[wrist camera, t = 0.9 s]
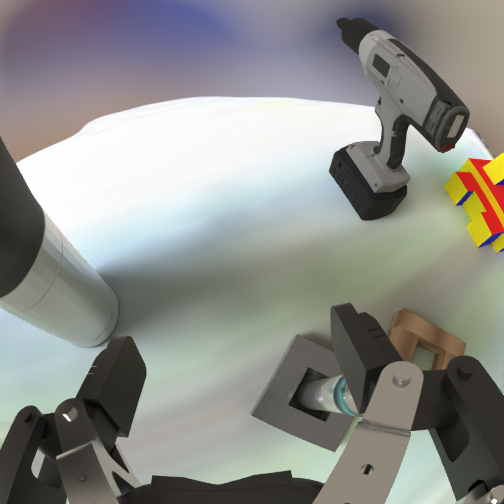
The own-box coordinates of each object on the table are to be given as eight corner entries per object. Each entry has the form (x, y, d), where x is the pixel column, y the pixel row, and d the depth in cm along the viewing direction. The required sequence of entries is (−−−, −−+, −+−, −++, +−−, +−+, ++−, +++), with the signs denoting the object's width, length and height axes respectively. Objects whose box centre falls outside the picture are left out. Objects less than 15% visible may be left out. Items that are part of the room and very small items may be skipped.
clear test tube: (290, 401, 28) (343, 406, 14) (305, 375, 30) (365, 356, 16) (316, 413, 28) (386, 424, 14) (330, 388, 29) (406, 376, 15)
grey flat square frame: (250, 413, 27) (251, 415, 25) (292, 338, 32) (297, 333, 30) (327, 448, 26) (334, 452, 23) (364, 374, 30) (373, 371, 28)
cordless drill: (330, 126, 51) (363, 13, 29) (405, 224, 41) (491, 103, 19) (296, 130, 49) (322, 6, 27) (370, 238, 39) (462, 97, 17)
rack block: (368, 384, 29) (377, 382, 27) (394, 314, 34) (403, 308, 32) (435, 412, 27) (446, 412, 25) (455, 347, 32) (465, 343, 29)
